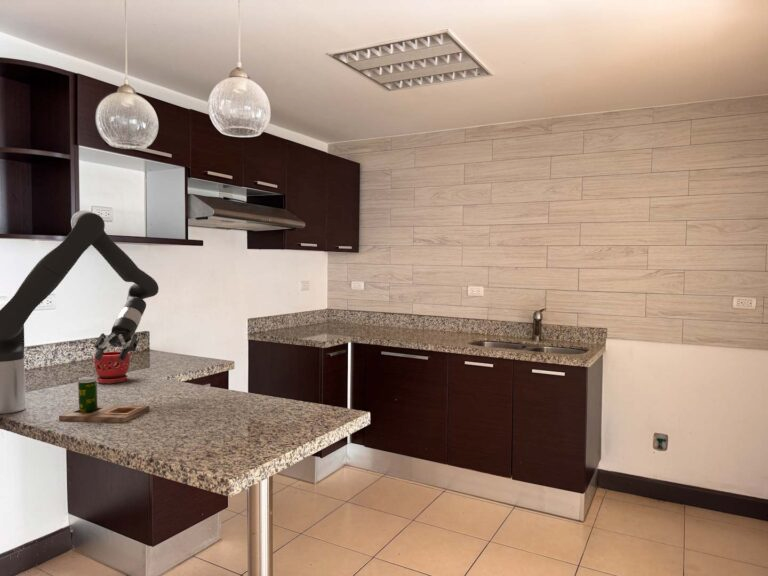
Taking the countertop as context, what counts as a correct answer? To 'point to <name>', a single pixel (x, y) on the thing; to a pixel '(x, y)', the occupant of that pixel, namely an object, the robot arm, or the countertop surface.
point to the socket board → (106, 413)
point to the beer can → (87, 394)
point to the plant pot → (112, 368)
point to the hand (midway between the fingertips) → (108, 359)
